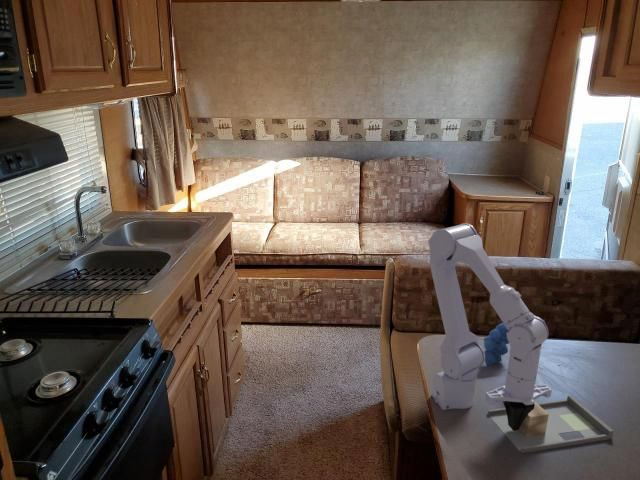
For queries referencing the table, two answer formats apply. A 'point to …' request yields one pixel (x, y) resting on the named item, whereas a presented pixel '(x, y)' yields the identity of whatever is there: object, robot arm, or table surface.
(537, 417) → the block
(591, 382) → the table surface
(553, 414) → the board
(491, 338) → the grapes
